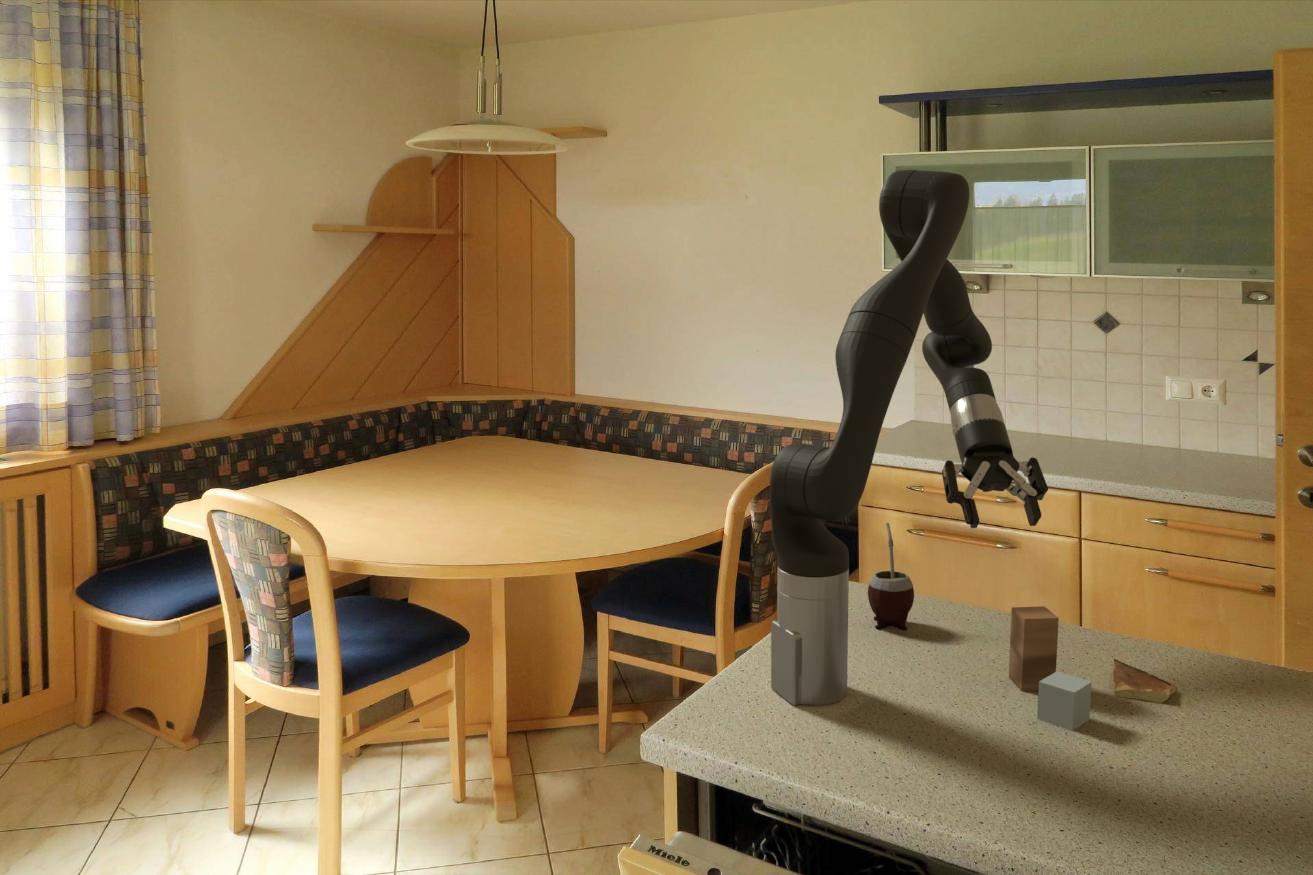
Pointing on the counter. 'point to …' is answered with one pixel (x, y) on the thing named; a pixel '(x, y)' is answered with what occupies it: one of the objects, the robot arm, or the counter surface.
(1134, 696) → the shard
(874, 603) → the mate gourd
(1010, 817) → the counter surface
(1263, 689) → the counter surface
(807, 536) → the robot arm
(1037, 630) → the walnut block
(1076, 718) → the grey-blue block
